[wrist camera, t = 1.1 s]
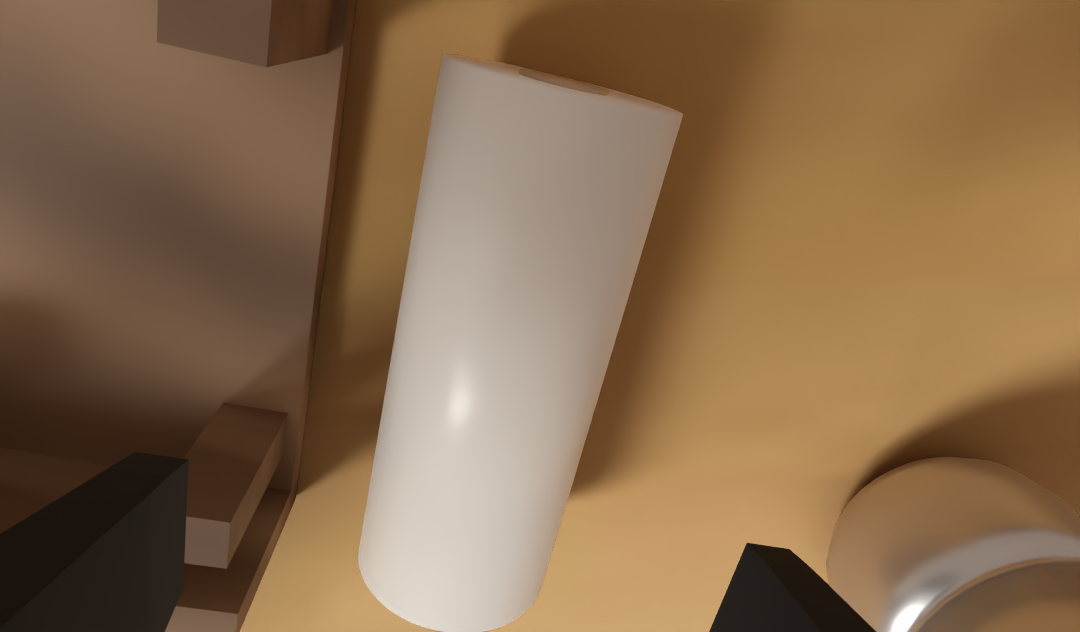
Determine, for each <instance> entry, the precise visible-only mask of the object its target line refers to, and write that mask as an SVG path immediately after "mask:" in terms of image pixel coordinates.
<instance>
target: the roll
mask: <svg viewBox="0 0 1080 632" xmlns="http://www.w3.org/2000/svg"><path fill="white" fill-rule="evenodd" d="M682 117H683V114H682V113H681V112H679V111H677V110H675V109H672V108H670V107H667V106H664V105H662V104H659V103H656V102H653V101H650V100H646V99H643V98H640V97H637V96H633V95H630V94H627V93H623V92H620V91H616V90H613V89H609V88H605V87H602V86H598V85H594V84H590V83H586V82H582V81H578V80H574V79H570V78H566V77H561V76H557V75H553V74H549V73H545V72H541V71H537V70H533V69H528V68H524V67H520V66H516V65H511V64H506V63H502V62H497V61H492V60H486V59H481V58H475V57H469V56H463V55H455V54H442V58H441V64H440V70H439V76H438V82H437V88H436V94H435V100H434V106H433V112H432V118H431V124H430V130H429V136H428V142H427V147H426V153H425V159H424V165H423V171H422V177H421V183H420V189H419V195H418V201H417V207H416V213H415V219H414V225H413V231H412V237H411V243H410V248H409V254H408V260H407V266H406V272H405V278H404V284H403V290H402V296H401V302H400V308H399V314H398V320H397V326H396V332H395V338H394V344H393V350H392V355H391V361H390V367H389V373H388V379H387V385H386V391H385V397H384V403H383V409H382V415H381V421H380V427H379V433H378V439H377V445H376V451H375V456H374V462H373V468H372V474H371V480H370V486H369V492H368V498H367V504H366V510H365V516H364V522H363V528H362V534H361V540H360V546H359V552H358V562H359V567H360V572H361V574H362V577H363V579H364V582H365V583H366V585H367V587H368V588H369V590H370V591H371V592H372V594H373V595H374V596H375V597H376V599H377V600H379V601H380V602H381V603H382V604H383V605H384V606H385V607H386V608H388V609H389V610H390V611H392V612H393V613H395V614H396V615H398V616H400V617H401V618H403V619H405V620H407V621H409V622H412V623H414V624H416V625H419V626H422V627H425V628H429V629H432V630H437V631H442V632H483V631H488V630H492V629H496V628H499V627H501V626H504V625H506V624H509V623H510V622H512V621H514V620H516V619H517V618H519V617H520V616H521V615H523V614H524V613H525V612H526V611H527V610H528V609H529V608H530V607H531V606H532V605H533V603H534V602H535V600H536V599H537V597H538V595H539V592H540V590H541V587H542V584H543V581H544V577H545V574H546V571H547V567H548V564H549V561H550V557H551V554H552V551H553V547H554V544H555V541H556V537H557V534H558V531H559V527H560V524H561V521H562V517H563V514H564V511H565V507H566V504H567V501H568V497H569V494H570V491H571V487H572V484H573V481H574V477H575V474H576V471H577V467H578V464H579V461H580V457H581V454H582V451H583V447H584V444H585V441H586V437H587V434H588V431H589V427H590V424H591V421H592V417H593V414H594V411H595V407H596V404H597V401H598V397H599V394H600V391H601V387H602V384H603V381H604V377H605V374H606V371H607V367H608V364H609V361H610V357H611V354H612V351H613V347H614V344H615V341H616V337H617V334H618V331H619V327H620V324H621V321H622V317H623V314H624V311H625V307H626V304H627V301H628V297H629V294H630V291H631V287H632V284H633V281H634V277H635V274H636V271H637V267H638V264H639V261H640V257H641V254H642V251H643V247H644V244H645V241H646V237H647V234H648V231H649V227H650V224H651V221H652V217H653V214H654V211H655V207H656V204H657V201H658V197H659V194H660V191H661V187H662V184H663V181H664V177H665V174H666V171H667V167H668V164H669V161H670V157H671V154H672V151H673V147H674V144H675V141H676V137H677V134H678V131H679V127H680V124H681V121H682Z"/></svg>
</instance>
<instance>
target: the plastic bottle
mask: <svg viewBox="0 0 1080 632" xmlns="http://www.w3.org/2000/svg"><path fill="white" fill-rule="evenodd" d="M826 567H827V578H828V582H829V585H830V587H831V588H832V589H833V590H834V591H835V592H836V593H837V594H838V595H839V596H841V597H842V598H843V599H844V600H845V601H846V602H847V603H848V604H849V605H850V606H851V607H852V608H853V609H854V610H855V611H856V612H857V613H858V614H859V615H860V616H861V617H862V618H863V619H864V620H865V621H866V622H867V623H868V624H869V625H870V626H871V627H872V628H873V629H874V630H875V631H876V632H1080V516H1079V515H1078V514H1077V512H1076V511H1075V510H1074V509H1073V508H1072V507H1071V506H1070V505H1069V504H1068V503H1067V502H1066V501H1065V500H1063V499H1062V498H1060V497H1059V496H1057V495H1055V494H1054V493H1052V492H1050V491H1049V490H1047V489H1045V488H1044V487H1042V486H1040V485H1039V484H1037V483H1036V482H1034V481H1032V480H1031V479H1029V478H1027V477H1026V476H1024V475H1022V474H1021V473H1019V472H1017V471H1015V470H1014V469H1012V468H1010V467H1008V466H1006V465H1003V464H1000V463H996V462H993V461H990V460H982V459H971V458H960V457H948V456H947V457H933V458H926V459H922V460H918V461H913V462H910V463H907V464H904V465H902V466H899V467H897V468H894V469H892V470H890V471H888V472H886V473H885V474H883V475H881V476H879V477H877V478H876V479H874V480H873V481H872V482H870V483H869V484H868V485H867V486H865V487H864V488H863V489H861V490H860V491H859V492H858V493H857V494H856V495H855V496H854V498H853V499H852V500H851V501H850V502H849V503H848V504H847V506H846V507H845V509H844V510H843V512H842V513H841V515H840V516H839V518H838V521H837V523H836V526H835V528H834V530H833V534H832V538H831V541H830V545H829V550H828V556H827V561H826Z"/></svg>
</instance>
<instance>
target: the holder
mask: <svg viewBox="0 0 1080 632" xmlns="http://www.w3.org/2000/svg"><path fill="white" fill-rule="evenodd" d="M355 9H356V0H0V534H1V533H2V532H4V531H6V530H7V529H9V528H11V527H12V526H14V525H16V524H17V523H19V522H21V521H22V520H24V519H26V518H27V517H29V516H31V515H32V514H34V513H36V512H37V511H39V510H41V509H42V508H44V507H45V506H47V505H49V504H50V503H52V502H54V501H55V500H57V499H59V498H60V497H62V496H63V495H65V494H67V493H68V492H70V491H72V490H73V489H75V488H76V487H78V486H80V485H81V484H83V483H85V482H86V481H88V480H90V479H91V478H93V477H94V476H96V475H98V474H99V473H101V472H103V471H104V470H106V469H107V468H109V467H111V466H112V465H114V464H116V463H117V462H119V461H121V460H122V459H124V458H126V457H128V456H129V455H131V454H133V453H134V452H142V453H148V454H155V455H162V456H168V457H175V458H182V459H188V460H189V464H188V488H187V513H186V537H185V561H184V586H183V591H182V593H181V595H180V598H179V600H178V602H177V605H176V607H175V609H174V612H173V614H172V616H171V619H170V621H169V623H168V626H167V628H166V630H165V632H240V629H241V627H242V624H243V622H244V620H245V617H246V615H247V613H248V610H249V608H250V605H251V603H252V601H253V598H254V596H255V594H256V591H257V589H258V586H259V584H260V582H261V579H262V577H263V575H264V572H265V570H266V567H267V565H268V563H269V560H270V558H271V556H272V553H273V551H274V548H275V546H276V544H277V541H278V539H279V537H280V534H281V532H282V529H283V527H284V525H285V522H286V520H287V518H288V515H289V513H290V510H291V508H292V506H293V503H294V501H295V498H296V495H297V487H298V479H299V470H300V462H301V454H302V446H303V437H304V429H305V421H306V413H307V404H308V396H309V388H310V380H311V371H312V363H313V355H314V347H315V338H316V330H317V322H318V314H319V305H320V297H321V289H322V281H323V272H324V264H325V256H326V248H327V239H328V231H329V223H330V215H331V206H332V198H333V190H334V182H335V174H336V165H337V157H338V149H339V141H340V132H341V124H342V116H343V108H344V99H345V91H346V83H347V75H348V66H349V58H350V50H351V42H352V33H353V25H354V17H355Z"/></svg>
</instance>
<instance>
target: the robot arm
mask: <svg viewBox="0 0 1080 632" xmlns="http://www.w3.org/2000/svg"><path fill="white" fill-rule="evenodd" d="M188 464H189V460H188V459H182V458H175V457H168V456H162V455H155V454H148V453H142V452H134V453H133V454H131V455H129V456H128V457H126V458H124V459H122V460H121V461H119V462H117V463H116V464H114V465H112V466H111V467H109V468H107V469H106V470H104V471H103V472H101V473H99V474H98V475H96V476H94V477H93V478H91V479H90V480H88V481H86V482H85V483H83V484H81V485H80V486H78V487H76V488H75V489H73V490H72V491H70V492H68V493H67V494H65V495H63V496H62V497H60V498H59V499H57V500H55V501H54V502H52V503H50V504H49V505H47V506H45V507H44V508H42V509H41V510H39V511H37V512H36V513H34V514H32V515H31V516H29V517H27V518H26V519H24V520H22V521H21V522H19V523H17V524H16V525H14V526H12V527H11V528H9V529H7V530H6V531H4V532H2V533H1V534H0V632H165V630H166V628H167V626H168V623H169V621H170V619H171V616H172V614H173V612H174V609H175V607H176V605H177V602H178V600H179V598H180V595H181V593H182V591H183V586H184V561H185V537H186V513H187V488H188ZM709 632H876V631H875V630H874V629H873V628H872V627H871V626H870V625H869V624H868V623H867V622H866V621H865V620H864V619H863V618H862V617H861V616H860V615H859V614H858V613H857V612H856V611H855V610H854V609H853V608H852V607H851V606H850V605H849V604H848V603H847V602H846V601H845V600H844V599H843V598H842V597H841V596H839V595H838V594H837V593H836V592H835V591H834V590H833V589H832V588H831V587H830V586H829V585H828V584H827V583H826V582H825V581H824V580H823V579H822V578H821V577H820V576H819V575H818V574H817V573H815V572H814V571H813V570H812V569H811V568H810V567H809V566H808V565H807V564H806V563H805V562H803V561H802V560H801V559H800V558H799V557H798V556H797V555H795V554H794V553H793V552H792V551H791V550H790V549H785V548H778V547H771V546H765V545H758V544H751V543H747V544H746V546H745V549H744V551H743V553H742V556H741V558H740V561H739V563H738V565H737V568H736V570H735V572H734V575H733V577H732V579H731V582H730V584H729V587H728V589H727V591H726V594H725V596H724V598H723V601H722V603H721V605H720V608H719V610H718V613H717V615H716V617H715V620H714V622H713V624H712V627H711V629H710V631H709Z"/></svg>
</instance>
